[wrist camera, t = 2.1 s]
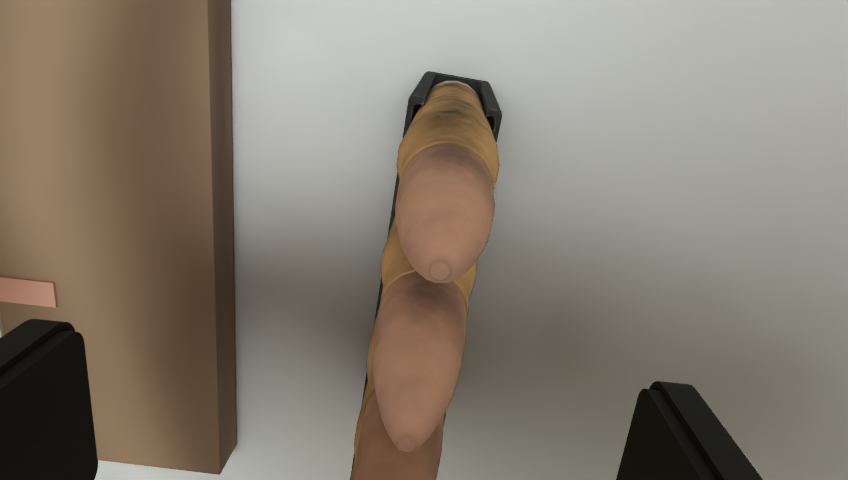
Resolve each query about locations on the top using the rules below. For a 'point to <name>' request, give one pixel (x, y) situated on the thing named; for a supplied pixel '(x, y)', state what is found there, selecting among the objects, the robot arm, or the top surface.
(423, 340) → the ammunition clip
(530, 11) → the top surface
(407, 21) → the top surface
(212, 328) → the walnut board
